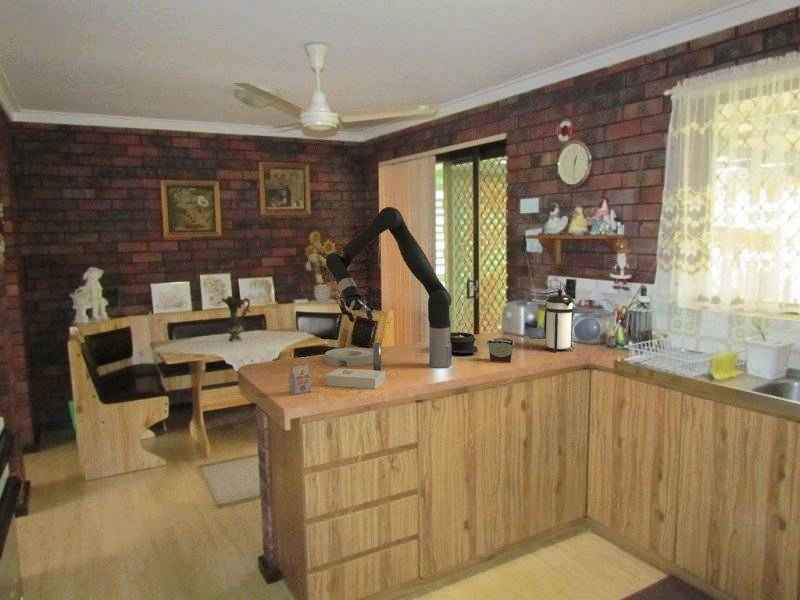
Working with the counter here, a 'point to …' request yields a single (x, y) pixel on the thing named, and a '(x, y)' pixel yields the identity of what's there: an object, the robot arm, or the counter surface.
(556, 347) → the coffee press
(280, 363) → the counter surface
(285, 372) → the counter surface
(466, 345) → the casserole
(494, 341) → the food container
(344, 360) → the ashtray
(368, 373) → the peg block
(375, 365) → the graphite peg
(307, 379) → the grey printed package
